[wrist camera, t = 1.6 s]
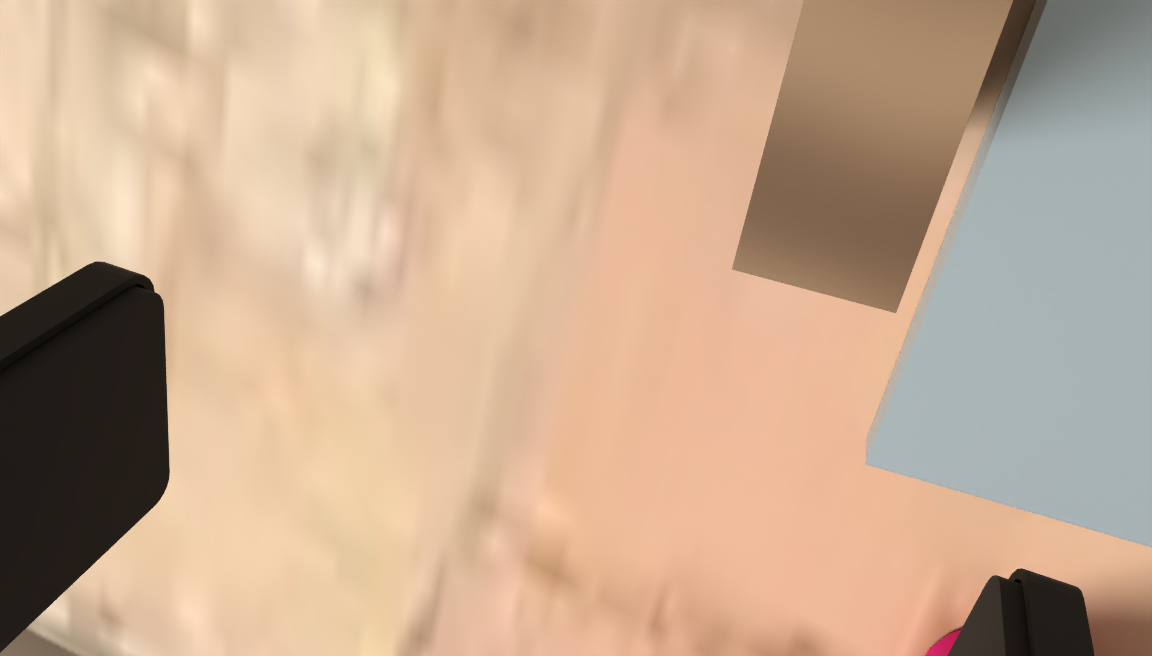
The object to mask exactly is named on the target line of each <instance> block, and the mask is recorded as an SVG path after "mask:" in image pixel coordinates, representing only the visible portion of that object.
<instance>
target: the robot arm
mask: <svg viewBox="0 0 1152 656" xmlns="http://www.w3.org/2000/svg"><path fill="white" fill-rule="evenodd" d="M169 473H170V470H169V441H168V412H167V383H166V355H165V326H164V305H163V300H162V298H161V296H160V295H159V294H157V293H155V292H154V286H153V284H152V282H151V280H150V279H149V278H147V277H146V276H144V275H141V274H138V273H135V272H132V271H129V270H126V269H123V268H120V267H117V266H114V265H111V264H108V263H105V262H94V263H91V264H89V265H87V266H85V267H83V268H82V269H80V270H78V271H77V272H75V273H73V274H71V275H70V276H68V277H66V278H65V279H63V280H61V281H60V282H58V283H56V284H54V285H53V286H51V287H49V288H48V289H46V290H44V291H43V292H41V293H39V294H37V295H36V296H34V297H32V298H31V299H29V300H27V301H26V302H24V303H22V304H20V305H19V306H17V307H15V308H14V309H12V310H10V311H9V312H7V313H5V314H3V315H2V316H0V652H1V651H2V650H3V649H4V648H6V647H7V646H8V645H9V644H10V643H11V642H12V641H13V640H14V639H15V638H16V637H17V636H18V635H19V634H20V633H21V632H22V631H23V630H25V629H26V628H27V627H28V626H29V625H30V624H31V623H32V622H33V621H34V620H35V619H36V618H37V617H38V616H39V615H40V614H41V613H42V612H43V611H45V610H46V609H47V608H48V607H49V606H50V605H51V604H52V603H53V602H54V601H55V600H56V599H57V598H58V597H59V596H60V595H61V594H62V593H63V592H65V591H66V590H67V589H68V588H69V587H70V586H71V585H72V584H73V583H74V582H75V581H76V580H77V579H78V578H79V577H80V576H81V575H82V574H83V573H85V572H86V571H87V570H88V569H89V568H90V567H91V566H92V565H93V564H94V563H95V562H96V561H97V560H98V559H99V558H100V557H101V556H102V555H103V554H105V553H106V552H107V551H108V550H109V549H110V548H111V547H112V546H113V545H114V544H115V543H116V542H117V541H118V540H119V539H120V538H121V537H122V536H123V535H125V534H126V533H127V532H128V531H129V530H130V529H131V528H132V527H133V526H134V525H135V524H136V523H137V522H138V521H139V520H140V519H141V518H142V517H143V516H145V515H146V514H147V513H148V512H149V511H150V510H151V509H152V508H153V507H154V506H155V505H156V504H157V503H158V501H159V500H160V499H161V497H162V496H163V494H164V492H165V490H166V487H167V484H168V481H169ZM947 656H1094V650H1093V645H1092V640H1091V634H1090V629H1089V623H1088V618H1087V612H1086V607H1085V602H1084V597H1083V594H1082V591H1081V590H1080V589H1079V588H1078V587H1076V586H1073V585H1070V584H1067V583H1064V582H1061V581H1058V580H1055V579H1052V578H1049V577H1046V576H1043V575H1040V574H1037V573H1034V572H1031V571H1028V570H1025V569H1017V570H1016V571H1015V572H1014V573H1012V575H1011V576H1010V578H1009V579H1006V578H1003V577H1000V576H997V575H995V576H992V577H991V578H990V579H989V580H988V582H987V583H986V585H985V587H984V589H983V591H982V592H981V594H980V596H979V598H978V600H977V602H976V603H975V605H974V607H973V609H972V611H971V613H970V614H969V616H968V618H967V620H966V622H965V624H964V626H963V627H962V629H961V631H960V633H959V635H958V637H957V638H956V640H955V642H954V644H953V646H952V648H951V650H950V651H949V653H948V655H947Z"/></svg>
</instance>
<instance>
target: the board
mask: <svg viewBox="0 0 1152 656" xmlns="http://www.w3.org/2000/svg"><path fill="white" fill-rule="evenodd" d="M866 464H867V465H870V466H874V467H877V468H880V469H884V470H887V471H891V472H894V473H898V474H901V475H905V476H908V477H911V478H915V479H918V480H922V481H925V482H929V483H932V484H935V485H939V486H942V487H946V488H949V489H953V490H956V491H960V492H963V493H966V494H970V495H973V496H977V497H980V498H984V499H987V500H991V501H994V502H997V503H1001V504H1004V505H1008V506H1011V507H1015V508H1018V509H1021V510H1025V511H1028V512H1032V513H1035V514H1039V515H1042V516H1046V517H1049V518H1052V519H1056V520H1059V521H1063V522H1066V523H1070V524H1073V525H1077V526H1080V527H1083V528H1087V529H1090V530H1094V531H1097V532H1101V533H1104V534H1107V535H1111V536H1114V537H1118V538H1121V539H1125V540H1128V541H1132V542H1135V543H1138V544H1142V545H1145V546H1149V547H1152V0H1036V3H1035V6H1034V8H1033V11H1032V13H1031V16H1030V19H1029V21H1028V24H1027V26H1026V29H1025V31H1024V34H1023V37H1022V39H1021V42H1020V44H1019V47H1018V50H1017V52H1016V55H1015V57H1014V60H1013V62H1012V65H1011V68H1010V70H1009V73H1008V75H1007V78H1006V81H1005V83H1004V86H1003V88H1002V91H1001V94H1000V96H999V99H998V101H997V104H996V106H995V109H994V112H993V114H992V117H991V119H990V122H989V125H988V127H987V130H986V132H985V135H984V137H983V140H982V143H981V145H980V148H979V150H978V153H977V156H976V158H975V161H974V163H973V166H972V168H971V171H970V174H969V176H968V179H967V181H966V184H965V187H964V189H963V192H962V194H961V197H960V199H959V202H958V205H957V207H956V210H955V212H954V215H953V218H952V220H951V223H950V225H949V228H948V230H947V233H946V236H945V238H944V241H943V243H942V246H941V249H940V251H939V254H938V256H937V259H936V262H935V264H934V267H933V269H932V272H931V274H930V277H929V280H928V282H927V285H926V287H925V290H924V293H923V295H922V298H921V300H920V303H919V305H918V308H917V311H916V313H915V316H914V318H913V321H912V324H911V326H910V329H909V331H908V334H907V336H906V339H905V342H904V344H903V347H902V349H901V352H900V355H899V357H898V360H897V362H896V365H895V367H894V370H893V373H892V375H891V378H890V380H889V383H888V386H887V388H886V391H885V393H884V396H883V398H882V401H881V404H880V406H879V409H878V411H877V414H876V417H875V419H874V422H873V424H872V427H871V429H870V432H869V435H868V437H867V446H866Z"/></svg>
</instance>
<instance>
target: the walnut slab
mask: <svg viewBox="0 0 1152 656" xmlns="http://www.w3.org/2000/svg"><path fill="white" fill-rule="evenodd" d="M1012 3H1013V0H804V3H803V7H802V10H801V14H800V18H799V22H798V25H797V29H796V33H795V36H794V40H793V44H792V48H791V51H790V55H789V59H788V62H787V66H786V70H785V74H784V77H783V81H782V85H781V89H780V92H779V96H778V100H777V103H776V107H775V111H774V115H773V118H772V122H771V126H770V130H769V133H768V137H767V141H766V144H765V148H764V152H763V156H762V159H761V163H760V167H759V170H758V174H757V178H756V182H755V185H754V189H753V193H752V197H751V200H750V204H749V208H748V211H747V215H746V219H745V223H744V226H743V230H742V234H741V237H740V241H739V245H738V249H737V252H736V256H735V260H734V264H733V267H732V270H736V271H740V272H744V273H747V274H751V275H755V276H759V277H762V278H766V279H770V280H774V281H777V282H781V283H785V284H789V285H792V286H796V287H800V288H804V289H807V290H811V291H815V292H819V293H822V294H826V295H830V296H834V297H837V298H841V299H845V300H849V301H852V302H856V303H860V304H864V305H867V306H871V307H875V308H879V309H882V310H886V311H890V312H894V313H896V312H897V309H898V306H899V304H900V301H901V298H902V296H903V293H904V290H905V288H906V285H907V282H908V280H909V277H910V274H911V272H912V269H913V266H914V264H915V261H916V258H917V256H918V253H919V250H920V248H921V245H922V242H923V240H924V237H925V234H926V232H927V229H928V226H929V224H930V221H931V218H932V216H933V213H934V210H935V208H936V205H937V202H938V200H939V197H940V194H941V192H942V189H943V186H944V184H945V181H946V178H947V176H948V173H949V170H950V168H951V165H952V162H953V160H954V157H955V154H956V152H957V149H958V146H959V144H960V141H961V138H962V136H963V133H964V130H965V128H966V125H967V122H968V120H969V117H970V114H971V112H972V109H973V106H974V104H975V101H976V98H977V96H978V93H979V90H980V88H981V85H982V82H983V80H984V77H985V74H986V72H987V69H988V67H989V64H990V61H991V59H992V56H993V53H994V51H995V48H996V45H997V43H998V40H999V37H1000V35H1001V32H1002V29H1003V27H1004V24H1005V21H1006V19H1007V16H1008V13H1009V11H1010V8H1011V5H1012Z"/></svg>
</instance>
